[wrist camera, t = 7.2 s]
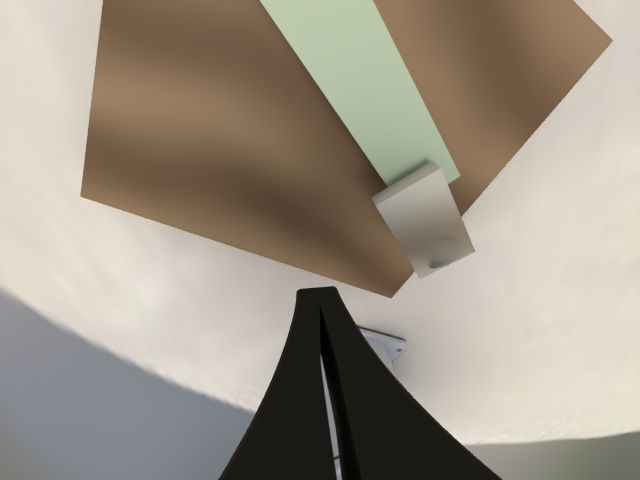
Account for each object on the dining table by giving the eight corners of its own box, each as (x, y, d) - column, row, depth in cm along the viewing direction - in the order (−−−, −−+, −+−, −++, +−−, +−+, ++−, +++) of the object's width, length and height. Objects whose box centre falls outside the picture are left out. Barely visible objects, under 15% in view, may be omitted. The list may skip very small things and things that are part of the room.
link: (162, -115, 10) (131, -151, 8) (252, -234, 9) (244, -312, 7) (382, 195, 17) (396, 217, 15) (446, 151, 16) (470, 169, 14)
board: (385, 284, 24) (410, 345, 19) (94, 184, 17) (26, 242, 12) (586, 39, 15) (715, 44, 11) (170, -356, 9) (43, -793, 4)
